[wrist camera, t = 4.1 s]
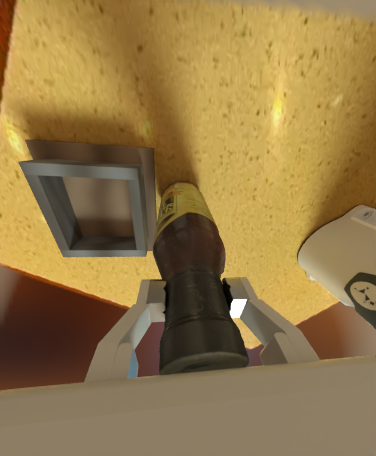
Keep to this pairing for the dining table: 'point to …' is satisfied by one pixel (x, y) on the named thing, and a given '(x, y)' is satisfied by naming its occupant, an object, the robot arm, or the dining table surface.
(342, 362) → the robot arm
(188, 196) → the sauce bottle
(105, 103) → the dining table surface
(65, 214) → the box
